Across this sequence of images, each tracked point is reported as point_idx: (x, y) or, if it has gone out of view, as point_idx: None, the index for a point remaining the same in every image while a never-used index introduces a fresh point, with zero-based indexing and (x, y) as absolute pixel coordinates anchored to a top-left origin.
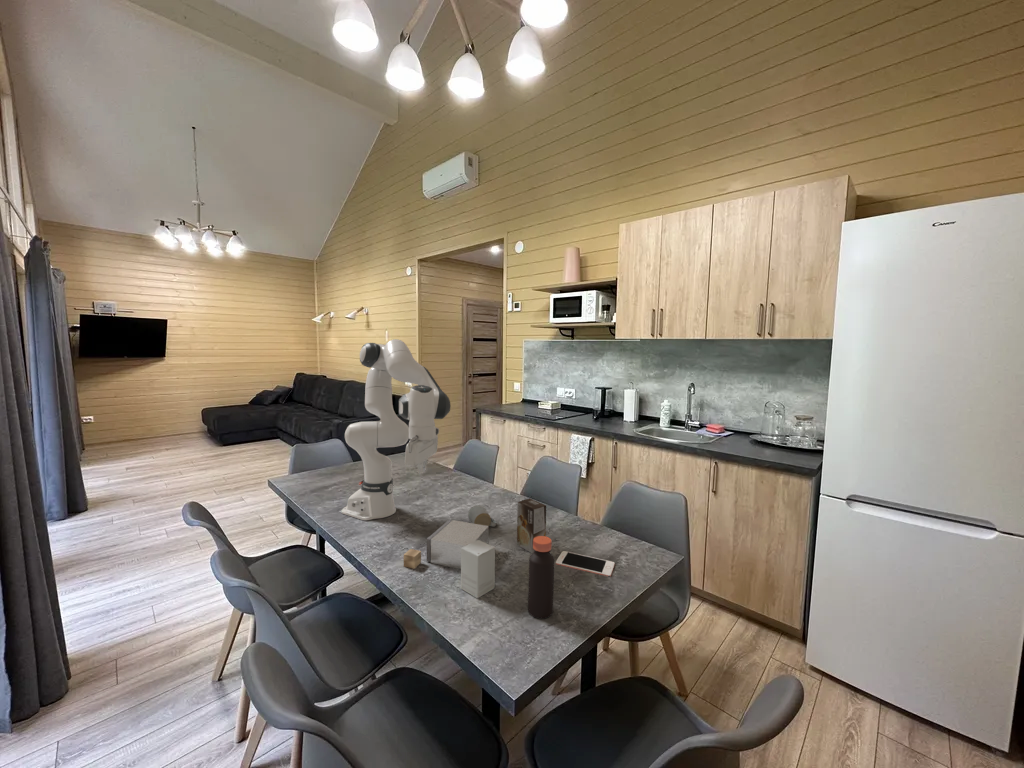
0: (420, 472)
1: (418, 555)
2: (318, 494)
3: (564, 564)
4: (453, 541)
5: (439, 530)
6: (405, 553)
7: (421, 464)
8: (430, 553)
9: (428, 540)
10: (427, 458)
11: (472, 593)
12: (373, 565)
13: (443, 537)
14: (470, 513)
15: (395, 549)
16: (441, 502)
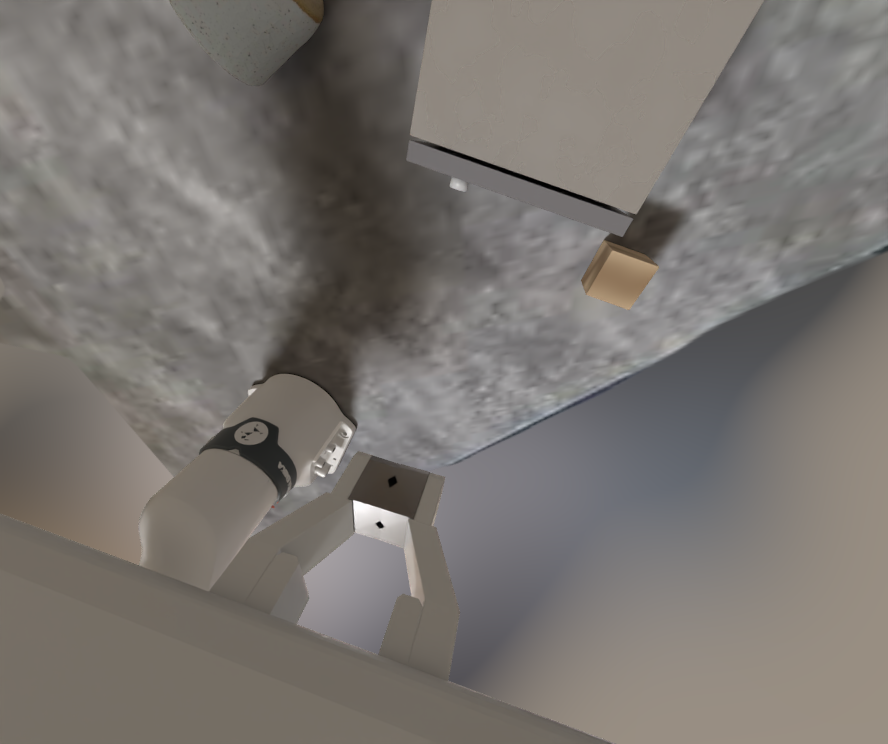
0: (440, 496)
1: (628, 254)
2: (274, 507)
3: None
4: (705, 51)
5: (532, 188)
6: (621, 305)
7: (458, 619)
8: (613, 207)
9: (627, 226)
10: (260, 616)
11: None
12: (593, 375)
13: (629, 142)
14: (249, 59)
15: (502, 336)
16: (168, 253)
